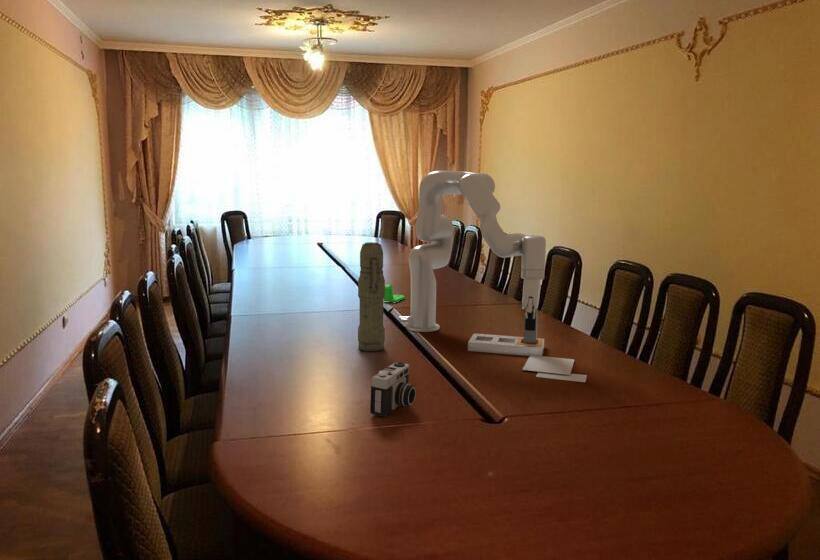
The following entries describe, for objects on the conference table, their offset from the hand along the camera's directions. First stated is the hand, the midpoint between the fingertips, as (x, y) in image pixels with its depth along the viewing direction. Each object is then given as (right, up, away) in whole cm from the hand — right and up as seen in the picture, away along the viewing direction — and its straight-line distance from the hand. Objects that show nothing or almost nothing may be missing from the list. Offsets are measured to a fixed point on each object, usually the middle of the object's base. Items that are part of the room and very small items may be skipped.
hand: (530, 328), depth 211 cm
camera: (-43, -16, -51) cm, 69 cm away
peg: (0, -5, +1) cm, 5 cm away
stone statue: (-53, -7, +3) cm, 53 cm away
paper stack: (+6, -12, -20) cm, 24 cm away
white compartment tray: (-7, -7, +3) cm, 11 cm away
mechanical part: (-46, +6, +81) cm, 93 cm away
